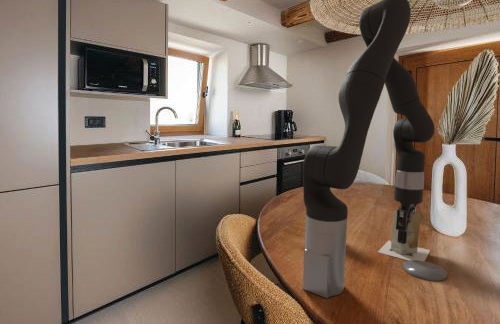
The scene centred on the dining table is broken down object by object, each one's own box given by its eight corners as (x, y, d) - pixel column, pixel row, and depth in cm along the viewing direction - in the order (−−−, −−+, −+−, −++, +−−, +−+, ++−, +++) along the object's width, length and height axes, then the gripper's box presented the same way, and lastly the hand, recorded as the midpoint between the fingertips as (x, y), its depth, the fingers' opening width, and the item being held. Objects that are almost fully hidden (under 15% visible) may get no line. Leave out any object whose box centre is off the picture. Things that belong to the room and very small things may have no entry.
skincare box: (400, 255, 87) (403, 214, 85) (390, 249, 91) (392, 210, 89) (418, 252, 88) (421, 213, 87) (407, 247, 93) (410, 209, 91)
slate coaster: (444, 285, 71) (444, 283, 71) (398, 272, 77) (398, 269, 77) (449, 269, 78) (449, 267, 78) (407, 258, 85) (407, 256, 85)
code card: (422, 264, 81) (422, 264, 81) (377, 252, 89) (377, 251, 89) (430, 250, 90) (430, 250, 90) (388, 240, 98) (388, 240, 98)
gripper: (418, 191, 79) (413, 250, 81) (427, 183, 90) (423, 235, 92) (388, 187, 84) (385, 243, 86) (401, 180, 95) (397, 229, 97)
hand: (405, 239), depth 89 cm, fingers closed on skincare box, 7 cm apart
